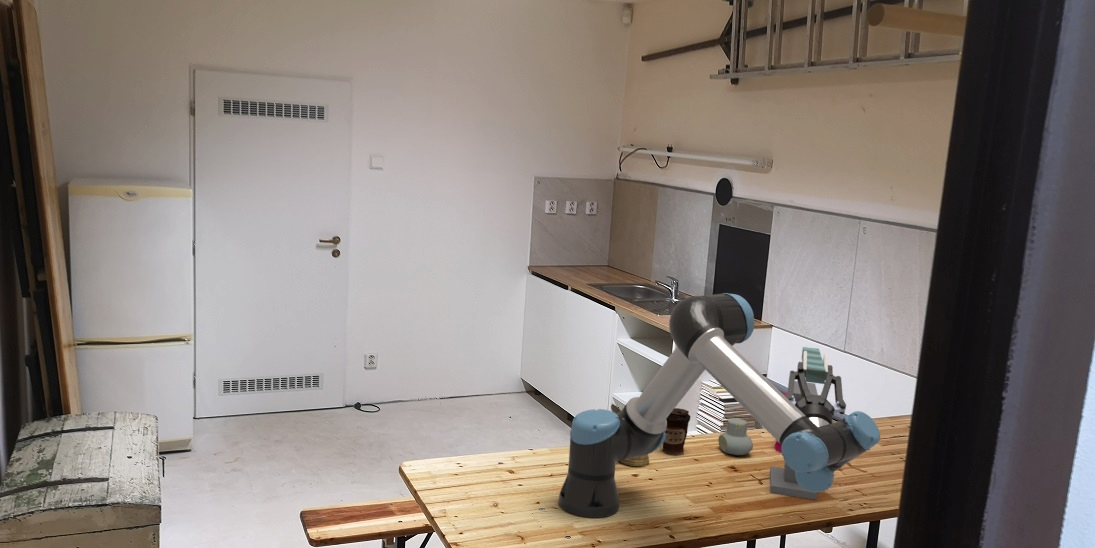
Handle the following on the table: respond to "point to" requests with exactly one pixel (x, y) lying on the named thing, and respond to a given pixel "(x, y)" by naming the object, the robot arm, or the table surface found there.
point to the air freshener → (736, 438)
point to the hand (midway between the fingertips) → (814, 356)
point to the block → (814, 366)
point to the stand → (785, 477)
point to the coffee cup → (676, 431)
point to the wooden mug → (634, 460)
